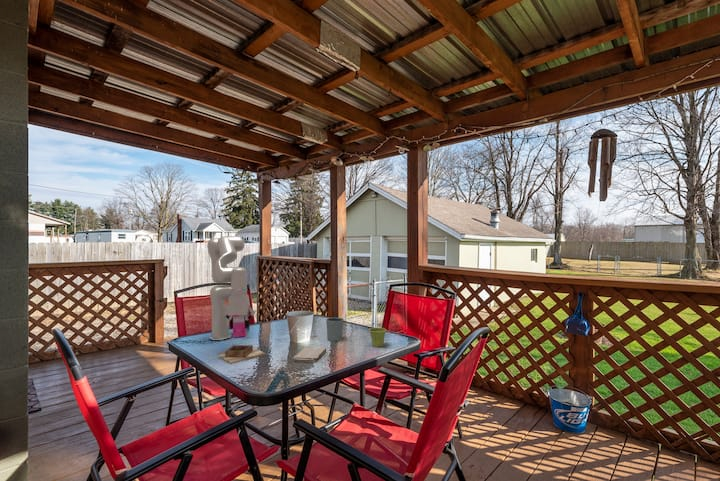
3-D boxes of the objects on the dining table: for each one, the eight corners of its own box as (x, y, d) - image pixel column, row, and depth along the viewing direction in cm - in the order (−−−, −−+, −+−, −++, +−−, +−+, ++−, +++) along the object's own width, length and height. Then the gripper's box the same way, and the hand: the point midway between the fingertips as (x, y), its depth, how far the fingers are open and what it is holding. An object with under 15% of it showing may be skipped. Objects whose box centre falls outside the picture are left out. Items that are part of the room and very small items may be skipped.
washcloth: (291, 363, 161) (291, 356, 161) (304, 351, 178) (304, 345, 178) (315, 364, 158) (315, 358, 159) (326, 352, 176) (326, 346, 176)
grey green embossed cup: (324, 338, 201) (323, 318, 201) (339, 336, 205) (339, 316, 205) (329, 342, 192) (329, 321, 192) (346, 340, 196) (346, 319, 196)
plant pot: (380, 349, 179) (380, 332, 179) (365, 346, 185) (365, 330, 185) (389, 345, 187) (389, 329, 187) (375, 342, 192) (375, 326, 193)
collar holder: (217, 356, 170) (217, 348, 170) (251, 348, 183) (250, 340, 183) (230, 364, 159) (230, 355, 159) (265, 355, 171) (265, 347, 171)
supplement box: (233, 335, 172) (233, 312, 172) (246, 334, 173) (246, 312, 174) (232, 338, 166) (232, 315, 167) (245, 337, 168) (245, 314, 168)
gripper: (218, 293, 167) (219, 330, 166) (253, 293, 166) (254, 329, 166) (225, 291, 174) (225, 326, 174) (258, 291, 174) (259, 326, 173)
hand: (239, 327), depth 170 cm, fingers closed on supplement box, 6 cm apart
